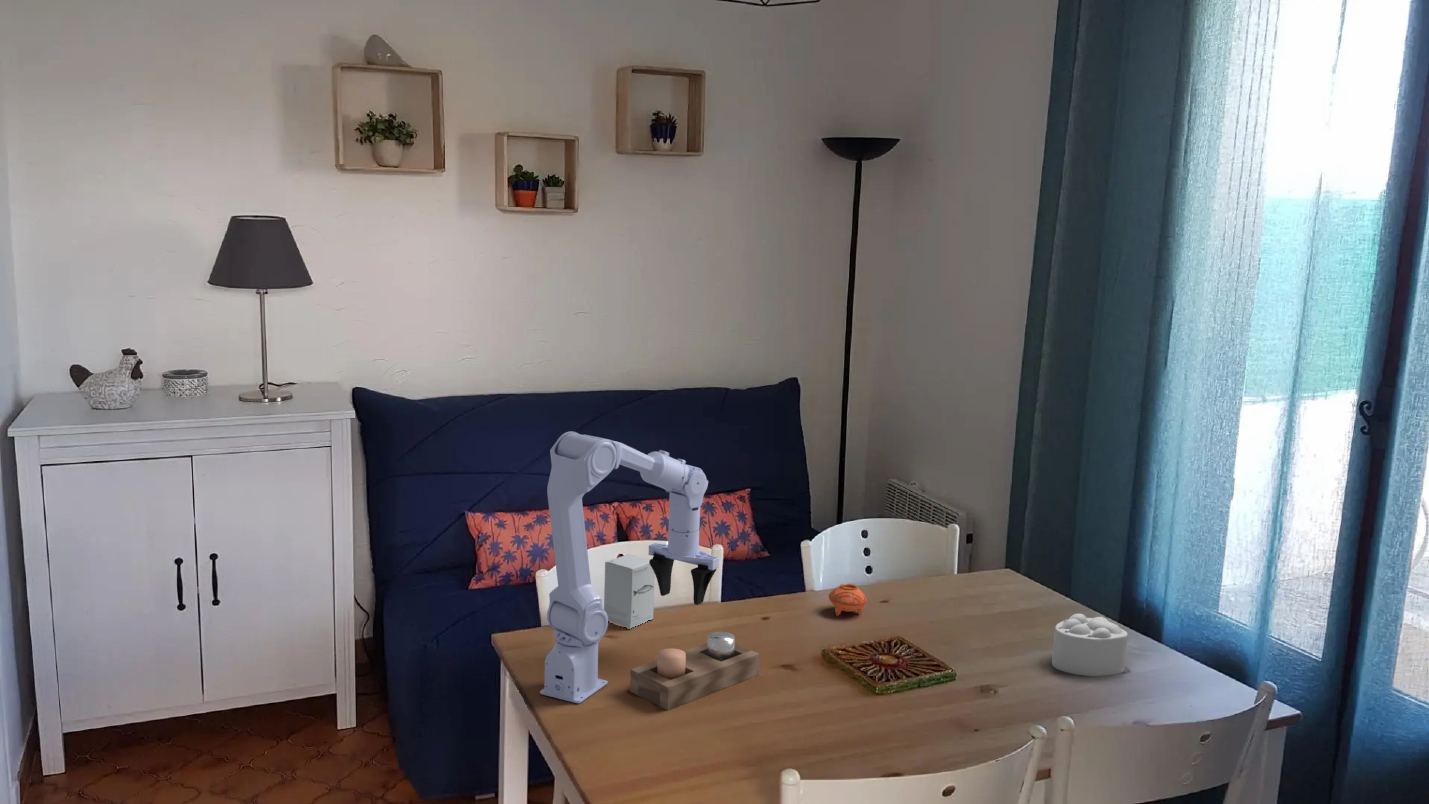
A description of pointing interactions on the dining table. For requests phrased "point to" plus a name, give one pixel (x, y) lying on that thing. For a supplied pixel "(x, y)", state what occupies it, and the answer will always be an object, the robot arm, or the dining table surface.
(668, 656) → the near peg
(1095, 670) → the lumpy-topped squat cylinder
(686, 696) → the wooden peg holder
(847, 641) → the dining table surface
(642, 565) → the supplement box
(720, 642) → the far peg
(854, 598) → the pot
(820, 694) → the dining table surface
